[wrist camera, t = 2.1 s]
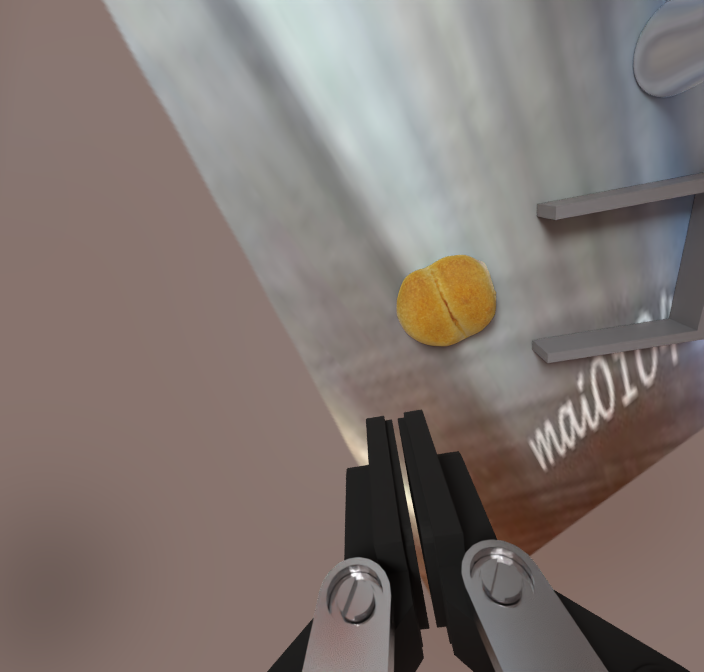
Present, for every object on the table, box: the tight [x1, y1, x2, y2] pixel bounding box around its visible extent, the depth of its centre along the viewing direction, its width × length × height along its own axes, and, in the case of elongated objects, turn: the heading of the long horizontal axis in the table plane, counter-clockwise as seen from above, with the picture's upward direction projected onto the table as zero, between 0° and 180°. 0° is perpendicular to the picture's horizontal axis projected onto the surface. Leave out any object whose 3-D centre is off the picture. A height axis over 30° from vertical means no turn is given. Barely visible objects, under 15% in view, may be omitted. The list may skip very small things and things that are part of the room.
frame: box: [532, 173, 704, 363], centre depth 30 cm, size 14×14×3 cm
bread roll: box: [397, 255, 496, 346], centre depth 31 cm, size 8×9×4 cm
